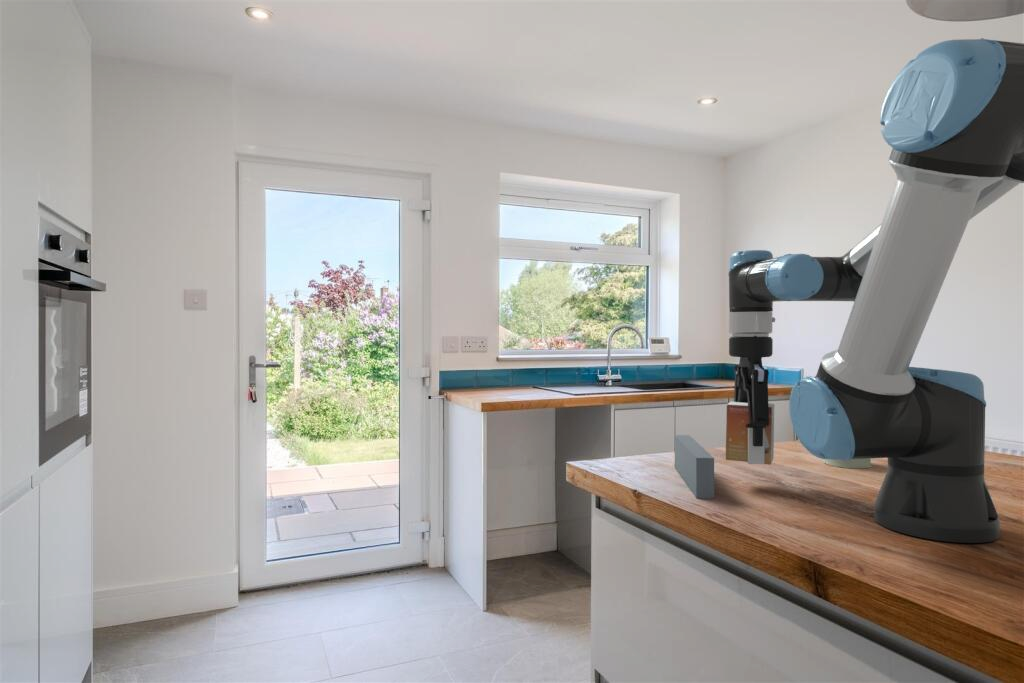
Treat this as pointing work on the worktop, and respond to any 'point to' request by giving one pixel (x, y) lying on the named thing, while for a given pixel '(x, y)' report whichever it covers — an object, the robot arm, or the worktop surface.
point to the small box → (745, 433)
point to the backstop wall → (694, 466)
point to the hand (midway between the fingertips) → (750, 458)
